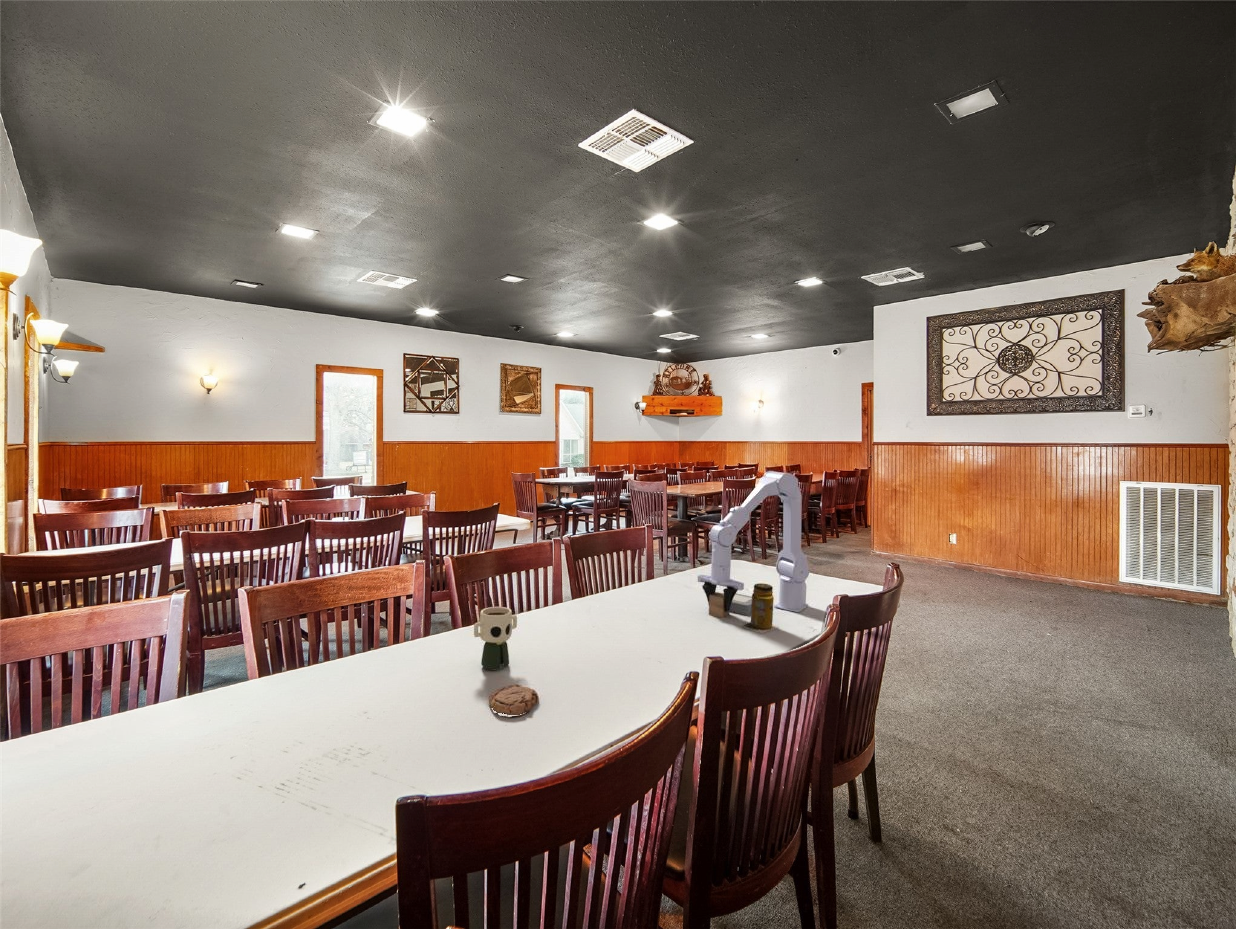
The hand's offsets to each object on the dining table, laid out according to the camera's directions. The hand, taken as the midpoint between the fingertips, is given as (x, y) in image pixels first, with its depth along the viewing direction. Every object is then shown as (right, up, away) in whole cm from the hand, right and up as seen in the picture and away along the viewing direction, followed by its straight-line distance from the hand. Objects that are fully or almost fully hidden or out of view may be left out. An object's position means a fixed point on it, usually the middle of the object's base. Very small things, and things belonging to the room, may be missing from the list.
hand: (719, 609), depth 178 cm
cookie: (-51, -4, -61) cm, 80 cm away
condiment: (+10, -3, -10) cm, 14 cm away
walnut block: (0, -2, 0) cm, 2 cm away
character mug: (-59, -3, -43) cm, 73 cm away
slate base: (+8, -1, +7) cm, 10 cm away
